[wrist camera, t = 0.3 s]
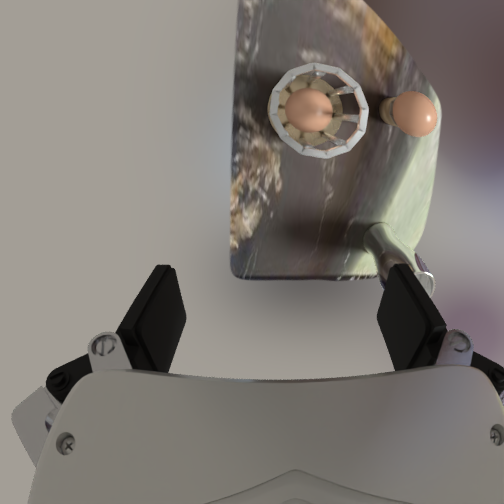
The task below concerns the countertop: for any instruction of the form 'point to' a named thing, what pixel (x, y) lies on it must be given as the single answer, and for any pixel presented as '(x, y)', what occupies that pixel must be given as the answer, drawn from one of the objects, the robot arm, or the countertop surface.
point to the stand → (387, 111)
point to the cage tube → (308, 140)
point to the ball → (308, 110)
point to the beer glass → (394, 255)
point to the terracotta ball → (414, 114)
